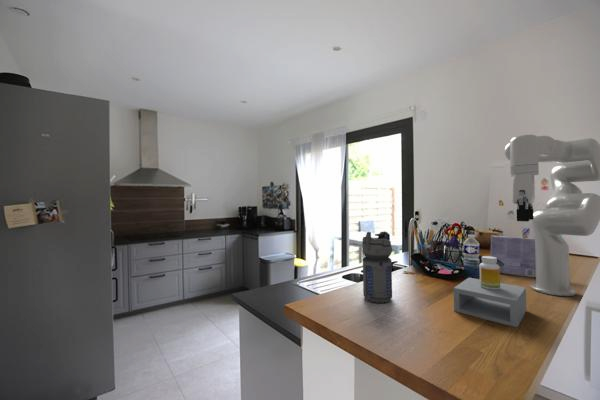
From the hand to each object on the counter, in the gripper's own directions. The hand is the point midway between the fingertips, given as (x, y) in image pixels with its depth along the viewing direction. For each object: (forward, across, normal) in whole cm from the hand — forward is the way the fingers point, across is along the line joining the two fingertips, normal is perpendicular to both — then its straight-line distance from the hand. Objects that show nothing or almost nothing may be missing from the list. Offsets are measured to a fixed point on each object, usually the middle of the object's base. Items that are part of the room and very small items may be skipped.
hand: (525, 220), depth 93 cm
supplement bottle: (+21, +18, -7) cm, 28 cm away
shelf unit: (+28, +18, -7) cm, 34 cm away
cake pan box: (+29, -39, -9) cm, 49 cm away
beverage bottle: (+28, +33, -38) cm, 58 cm away
